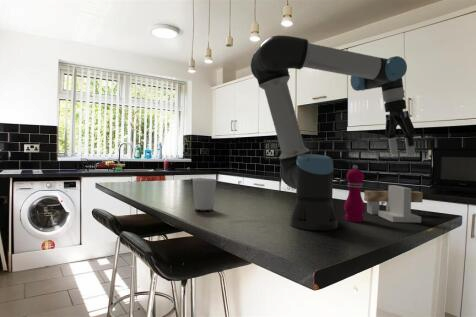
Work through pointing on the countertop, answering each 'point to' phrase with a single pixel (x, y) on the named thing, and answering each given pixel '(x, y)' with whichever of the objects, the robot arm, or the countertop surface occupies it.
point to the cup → (204, 194)
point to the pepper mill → (354, 196)
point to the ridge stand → (399, 205)
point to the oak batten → (383, 196)
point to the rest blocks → (374, 207)
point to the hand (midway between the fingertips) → (402, 154)
